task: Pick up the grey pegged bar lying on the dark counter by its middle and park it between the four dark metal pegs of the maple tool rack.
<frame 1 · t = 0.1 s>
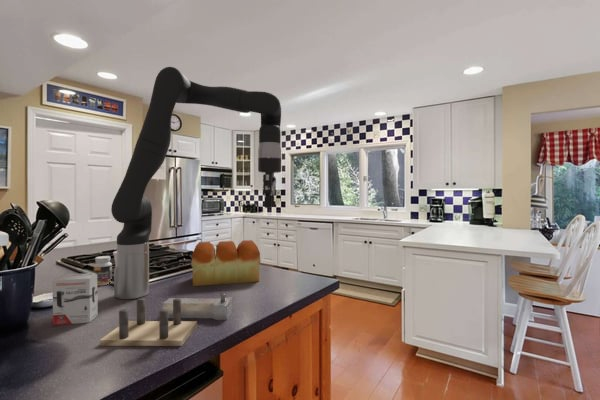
hand: (269, 207, 99), 29 cm above the worktop, fingers open, 8 cm apart
pill bottle: (103, 284, 111), on the worktop
rack: (151, 335, 71), on the worktop
bread: (226, 280, 118), on the worktop
grey pegged bar: (191, 315, 83), on the worktop
ink box: (76, 321, 79), on the worktop
smoothie: (122, 275, 123), on the worktop
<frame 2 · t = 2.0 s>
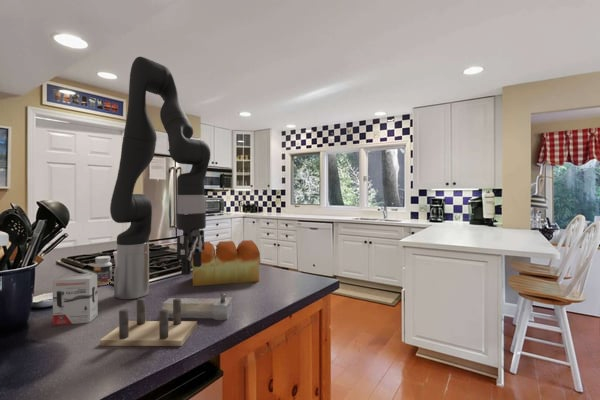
hand: (192, 270, 83), 12 cm above the worktop, fingers open, 8 cm apart
nothing on the worktop moved.
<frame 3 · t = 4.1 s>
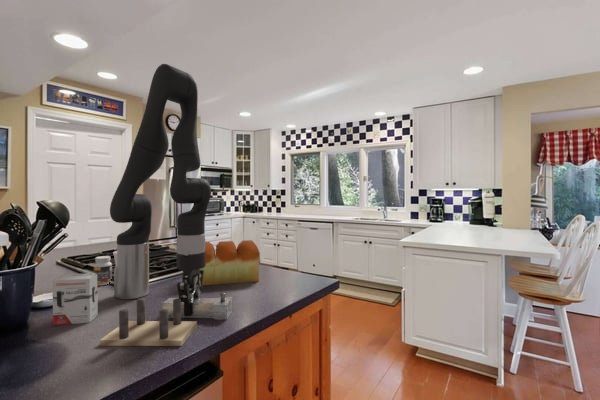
hand: (191, 311, 83), 1 cm above the worktop, fingers closed on grey pegged bar, 4 cm apart
grey pegged bar: (191, 314, 83), on the worktop, touching gripper
everything else where it was.
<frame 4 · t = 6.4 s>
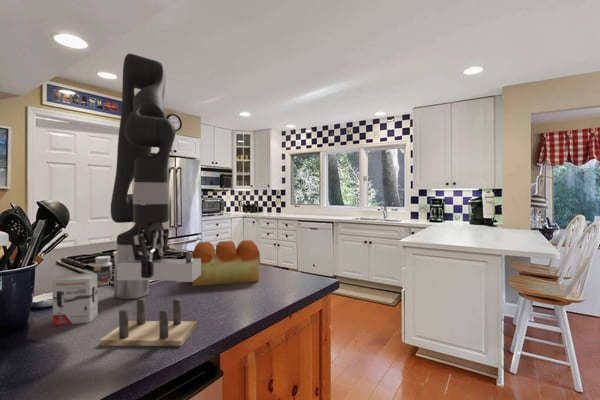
hand: (151, 274, 71), 14 cm above the worktop, fingers closed on grey pegged bar, 4 cm apart
grey pegged bar: (152, 277, 71), point 14 cm above the worktop, touching gripper
everything else where it was.
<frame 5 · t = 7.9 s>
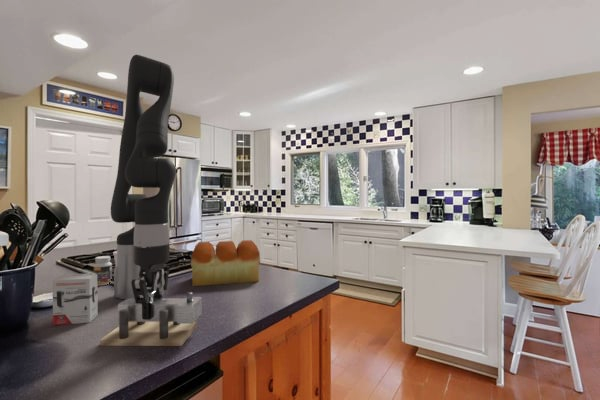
hand: (152, 314, 71), 5 cm above the worktop, fingers closed on grey pegged bar, 4 cm apart
grey pegged bar: (152, 318, 71), point 4 cm above the worktop, touching gripper
everything else where it was.
when the fingers open (3 cm above the worktop, at t = 9.0 s): grey pegged bar drops 1 cm, resting on rack.
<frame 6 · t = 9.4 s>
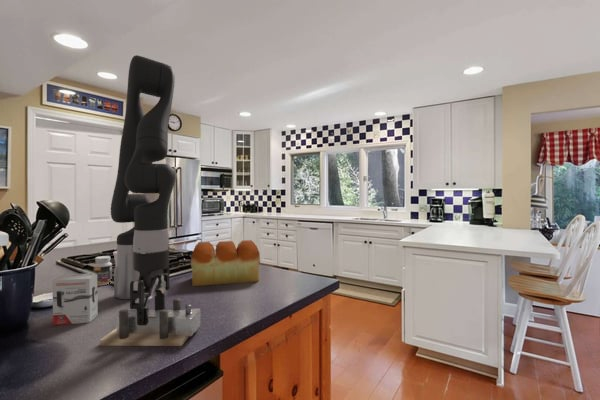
hand: (151, 317, 71), 4 cm above the worktop, fingers open, 7 cm apart
grey pegged bar: (151, 329, 71), point 1 cm above the worktop, touching rack
everything else where it was.
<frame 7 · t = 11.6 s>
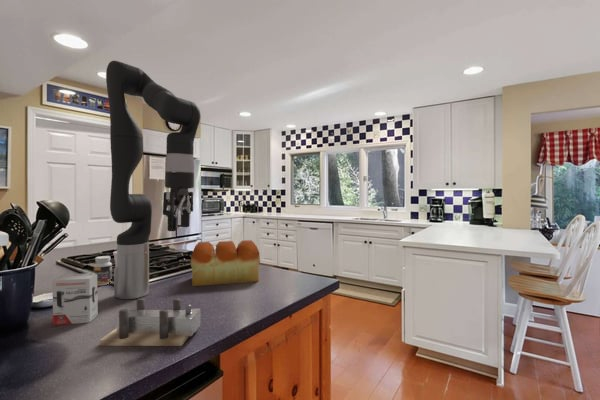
hand: (179, 228, 84), 24 cm above the worktop, fingers open, 8 cm apart
nothing on the worktop moved.
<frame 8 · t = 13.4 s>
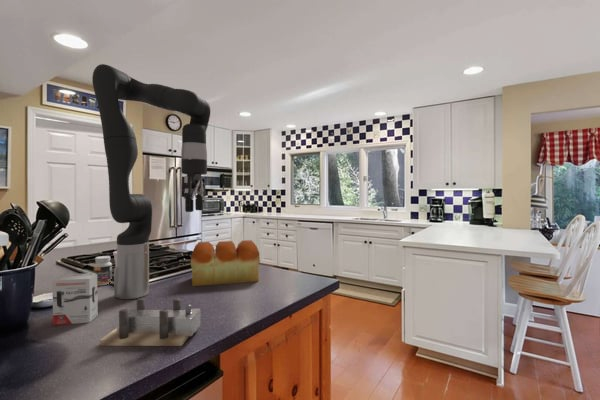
hand: (194, 211, 94), 28 cm above the worktop, fingers open, 8 cm apart
nothing on the worktop moved.
at the end: grey pegged bar 0.1 cm off-centre on the rack, point 1.2 cm above the rack's base; grey pegged bar tilted 0°; the gripper is holding nothing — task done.
